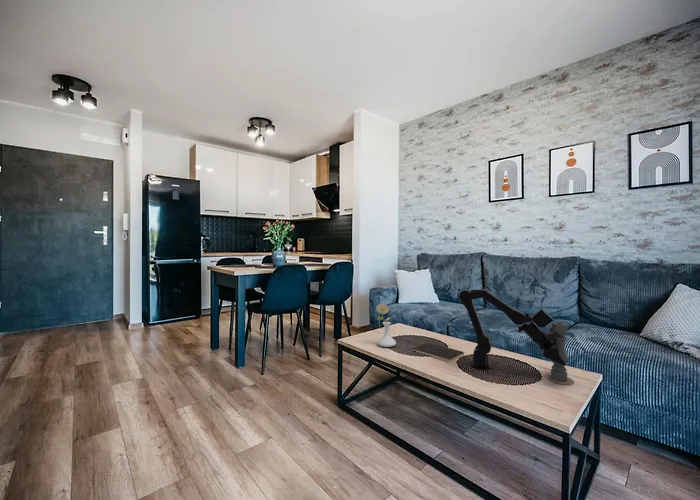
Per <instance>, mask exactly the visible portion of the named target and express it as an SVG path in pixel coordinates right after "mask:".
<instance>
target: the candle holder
mask: <svg viewBox="0 0 700 500" xmlns="http://www.w3.org/2000/svg"><path fill="white" fill-rule="evenodd" d="M551 327H552V330H553V332H554V333H555V332H557V334H559V335H561V336H562V337H563V338H557V339H556V340H554V345H555V346H556V347H557V348H558V349H559V355H560V356H561V358H562V359H563V360H564V362H565V363H566V364H567V362H568V356H567V352H566V349H565V342H566V341H567V337H566V334H567V333H568V324H567V323H565V322H558V321H552V322H551ZM552 363H553V364H552V366H551V369H550V375H551V379H553V380H555V381H559V382H566V381H567V377H568V370H567V368H566V366H563V365H561V364H559V363H557V362H555V361H552Z"/></svg>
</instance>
